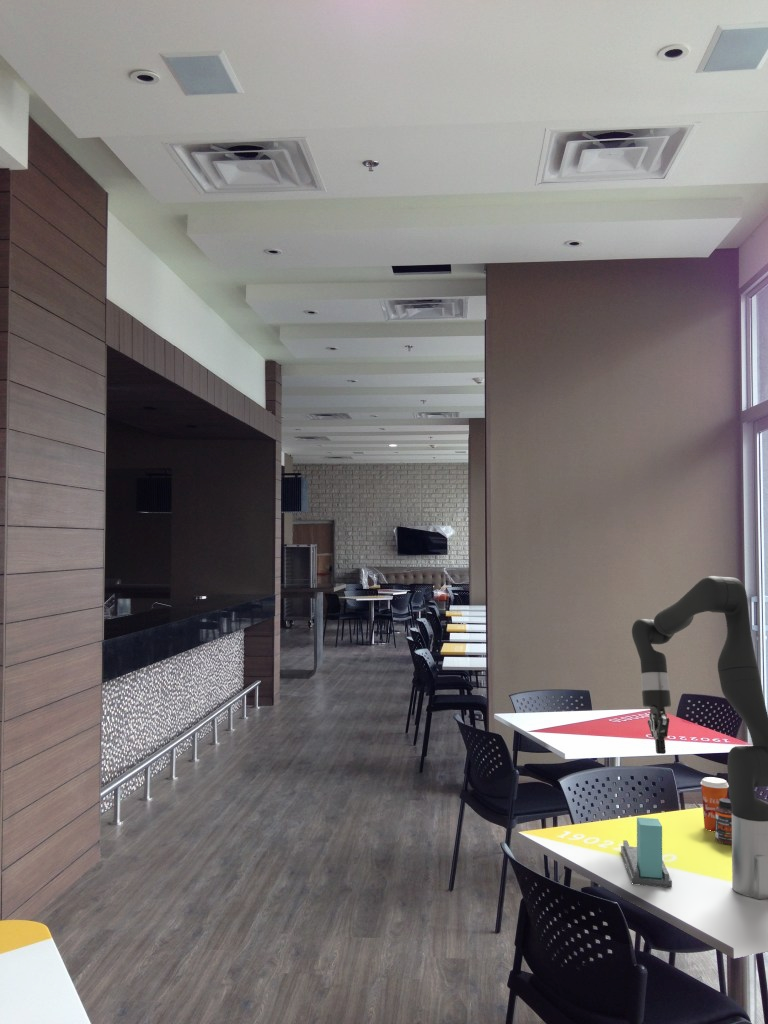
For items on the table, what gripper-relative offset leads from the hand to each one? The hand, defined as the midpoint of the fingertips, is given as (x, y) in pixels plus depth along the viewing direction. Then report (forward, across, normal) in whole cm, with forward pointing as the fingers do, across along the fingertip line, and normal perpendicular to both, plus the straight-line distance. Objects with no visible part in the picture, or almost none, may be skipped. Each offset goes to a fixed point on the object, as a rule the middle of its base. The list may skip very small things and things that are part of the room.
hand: (660, 753), depth 227 cm
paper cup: (+21, +19, -19) cm, 34 cm away
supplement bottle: (+23, +8, -18) cm, 31 cm away
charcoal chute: (+28, -15, +10) cm, 33 cm away
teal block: (+28, -22, +11) cm, 37 cm away
